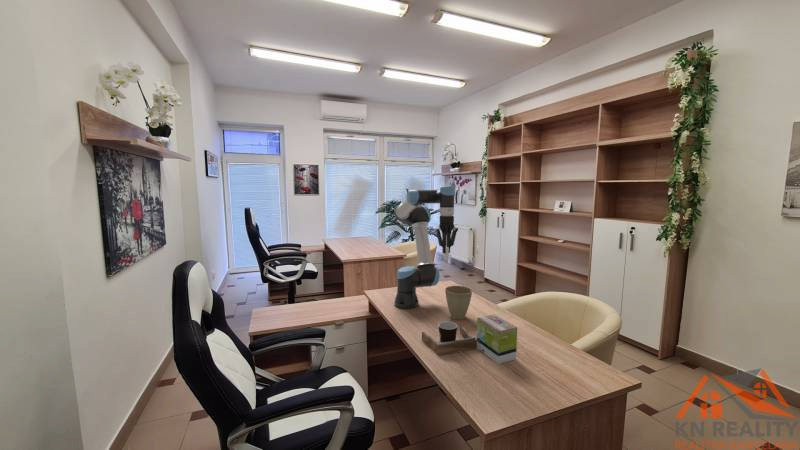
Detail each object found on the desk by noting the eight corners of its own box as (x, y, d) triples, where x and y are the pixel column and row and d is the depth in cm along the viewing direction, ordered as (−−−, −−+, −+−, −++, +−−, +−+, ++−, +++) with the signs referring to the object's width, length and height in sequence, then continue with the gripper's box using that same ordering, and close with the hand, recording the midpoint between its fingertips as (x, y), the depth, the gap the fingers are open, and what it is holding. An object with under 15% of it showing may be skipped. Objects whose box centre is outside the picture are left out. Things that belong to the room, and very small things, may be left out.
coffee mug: (455, 352, 140) (455, 330, 139) (436, 348, 143) (436, 327, 142) (460, 340, 151) (460, 320, 150) (442, 337, 154) (442, 317, 153)
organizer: (421, 340, 151) (421, 330, 151) (462, 333, 158) (462, 324, 158) (435, 356, 137) (435, 345, 136) (479, 348, 144) (479, 338, 143)
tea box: (475, 348, 144) (476, 316, 142) (493, 344, 148) (494, 313, 146) (498, 365, 130) (499, 330, 128) (517, 359, 134) (518, 326, 132)
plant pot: (452, 324, 169) (453, 295, 167) (440, 313, 183) (440, 287, 181) (476, 320, 174) (477, 292, 172) (462, 310, 188) (463, 284, 186)
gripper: (438, 216, 162) (438, 261, 165) (461, 215, 166) (460, 259, 169) (432, 215, 169) (432, 258, 172) (454, 214, 173) (453, 256, 176)
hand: (446, 259), depth 170 cm, fingers closed
